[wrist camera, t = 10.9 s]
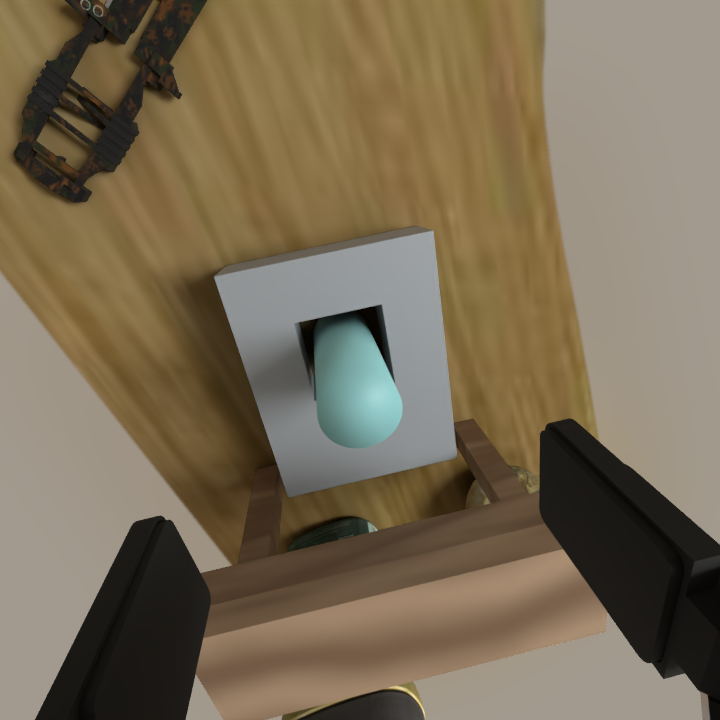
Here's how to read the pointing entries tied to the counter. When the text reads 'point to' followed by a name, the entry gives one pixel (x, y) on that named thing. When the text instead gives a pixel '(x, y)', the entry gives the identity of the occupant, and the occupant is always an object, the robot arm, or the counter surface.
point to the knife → (154, 49)
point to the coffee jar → (371, 710)
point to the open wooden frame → (388, 598)
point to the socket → (291, 363)
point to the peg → (353, 383)
